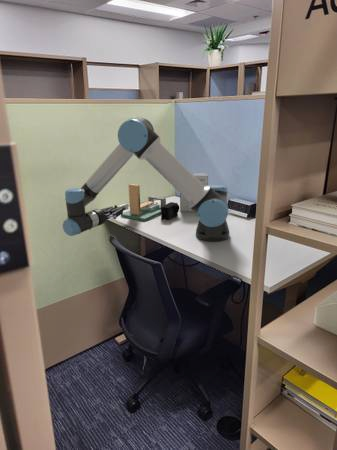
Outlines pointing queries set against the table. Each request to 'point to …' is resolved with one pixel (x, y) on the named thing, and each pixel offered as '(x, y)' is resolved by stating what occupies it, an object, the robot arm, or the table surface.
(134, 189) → the upright wooden plank
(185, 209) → the hard drive box
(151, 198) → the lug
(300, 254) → the table surface
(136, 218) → the circuit board
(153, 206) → the heat sink
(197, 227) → the robot arm
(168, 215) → the digital camera
